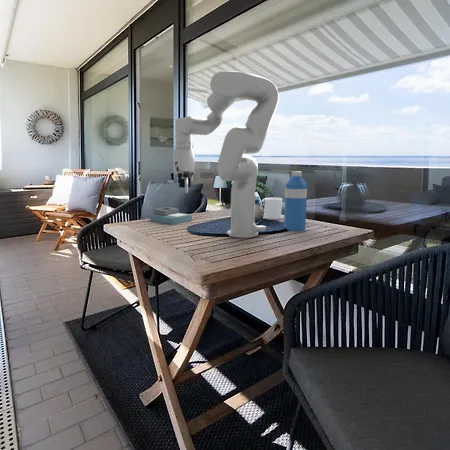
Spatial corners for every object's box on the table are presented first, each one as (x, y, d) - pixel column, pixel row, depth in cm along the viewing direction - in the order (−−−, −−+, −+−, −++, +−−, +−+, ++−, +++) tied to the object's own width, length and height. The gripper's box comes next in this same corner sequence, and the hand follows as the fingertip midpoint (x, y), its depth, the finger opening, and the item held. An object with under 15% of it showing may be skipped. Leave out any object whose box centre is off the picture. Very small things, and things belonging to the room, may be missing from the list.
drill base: (192, 220, 168) (192, 209, 166) (172, 224, 158) (172, 213, 157) (168, 216, 179) (167, 206, 177) (148, 220, 169) (147, 209, 168)
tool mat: (187, 215, 165) (187, 214, 165) (176, 217, 160) (176, 216, 160) (178, 214, 169) (178, 213, 169) (167, 215, 163) (167, 215, 163)
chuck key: (192, 192, 157) (192, 173, 156) (188, 193, 155) (187, 173, 153) (182, 191, 162) (181, 172, 160) (177, 192, 159) (177, 172, 158)
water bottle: (281, 229, 147) (283, 171, 142) (286, 225, 156) (288, 170, 151) (303, 231, 144) (306, 172, 139) (306, 227, 152) (309, 171, 147)
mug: (284, 218, 176) (285, 198, 173) (277, 220, 168) (278, 200, 166) (265, 216, 181) (265, 196, 179) (257, 218, 174) (257, 198, 172)
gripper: (191, 147, 163) (191, 185, 166) (164, 146, 150) (166, 188, 154) (202, 147, 158) (202, 186, 162) (176, 146, 146) (177, 189, 149)
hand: (185, 186), depth 158 cm, fingers closed on chuck key, 3 cm apart
